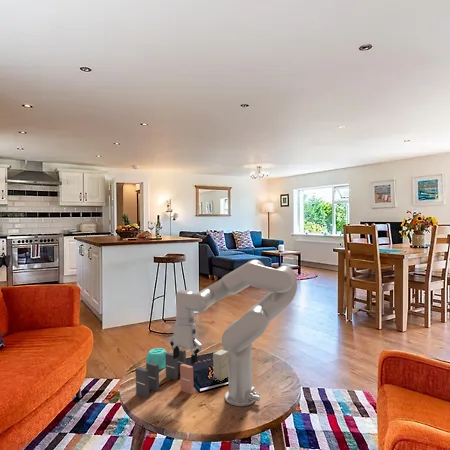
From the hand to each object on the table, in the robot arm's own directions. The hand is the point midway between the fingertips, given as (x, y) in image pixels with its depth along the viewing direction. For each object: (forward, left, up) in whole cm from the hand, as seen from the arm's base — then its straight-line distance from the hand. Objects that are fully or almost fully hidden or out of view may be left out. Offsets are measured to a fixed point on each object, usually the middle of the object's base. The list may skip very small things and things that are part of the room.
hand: (185, 360), depth 145 cm
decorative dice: (+27, -11, -14) cm, 32 cm away
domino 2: (+13, +6, -13) cm, 20 cm away
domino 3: (+13, -6, -13) cm, 20 cm away
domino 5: (-1, 0, -13) cm, 13 cm away
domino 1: (+13, +12, -13) cm, 22 cm away
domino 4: (+13, -12, -13) cm, 22 cm away
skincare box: (-7, -17, -13) cm, 23 cm away
